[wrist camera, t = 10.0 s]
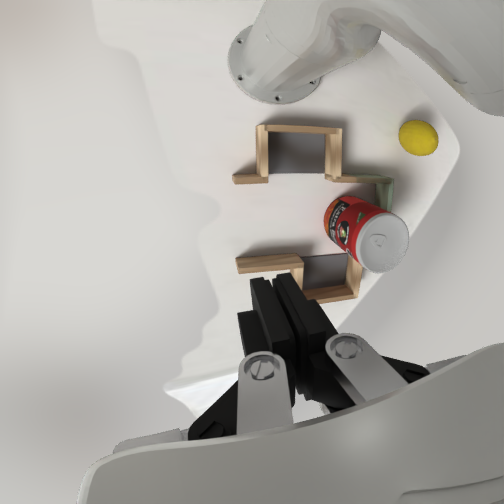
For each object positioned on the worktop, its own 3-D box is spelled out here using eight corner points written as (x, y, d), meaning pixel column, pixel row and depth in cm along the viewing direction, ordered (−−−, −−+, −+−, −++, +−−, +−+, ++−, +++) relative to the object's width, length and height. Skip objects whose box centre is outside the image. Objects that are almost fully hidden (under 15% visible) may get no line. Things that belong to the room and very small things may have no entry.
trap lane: (231, 126, 33) (233, 124, 30) (382, 135, 37) (395, 135, 33) (237, 301, 43) (240, 313, 40) (367, 284, 46) (377, 294, 43)
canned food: (325, 192, 39) (364, 211, 29) (370, 197, 40) (415, 216, 30) (318, 242, 42) (352, 275, 32) (362, 243, 43) (401, 273, 33)
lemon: (418, 142, 38) (452, 146, 31) (399, 159, 39) (432, 166, 31) (404, 114, 36) (437, 113, 28) (383, 130, 36) (417, 132, 29)
